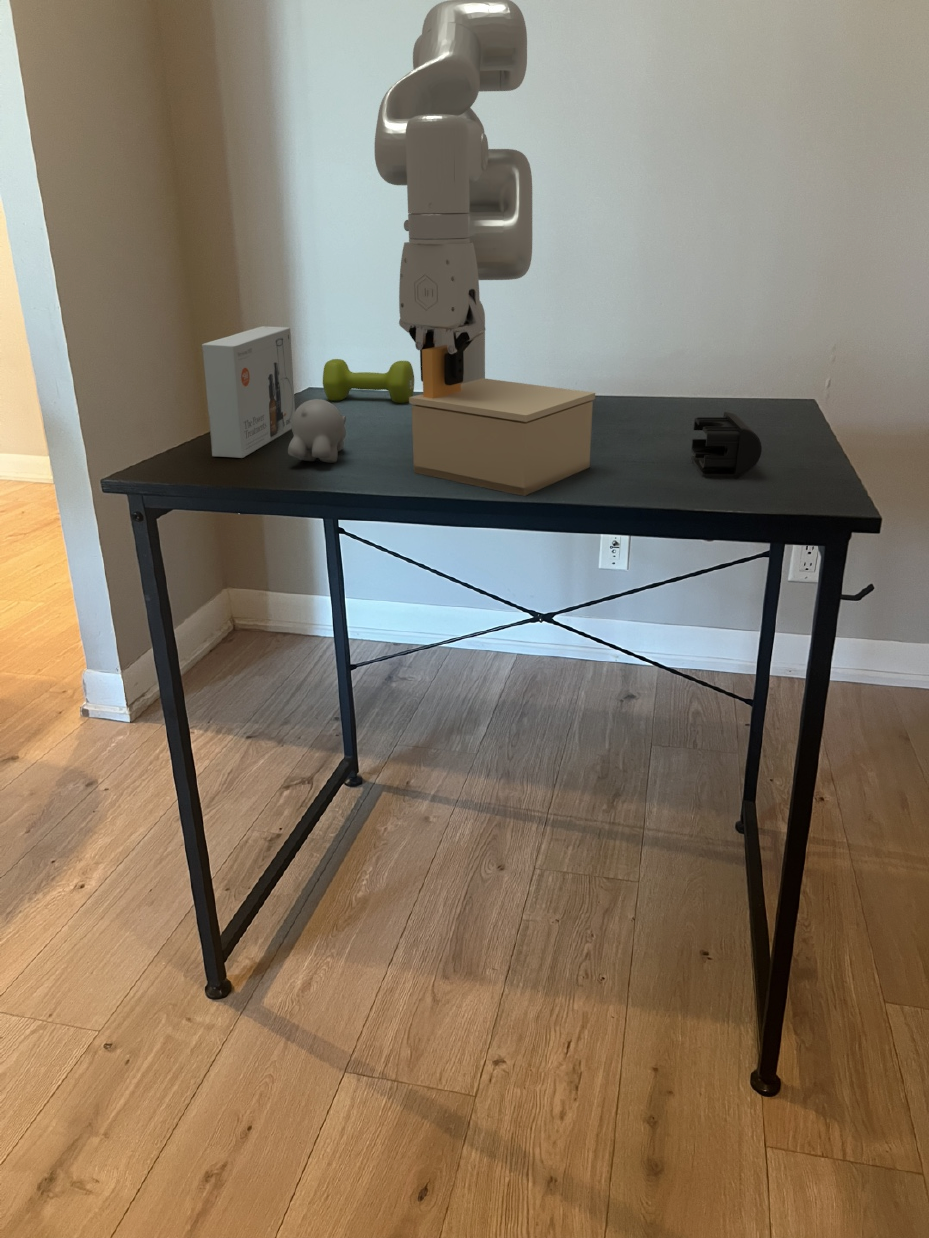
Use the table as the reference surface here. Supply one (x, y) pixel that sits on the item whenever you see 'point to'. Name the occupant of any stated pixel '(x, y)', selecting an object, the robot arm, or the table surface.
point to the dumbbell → (368, 380)
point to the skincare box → (249, 389)
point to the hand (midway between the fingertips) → (442, 380)
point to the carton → (501, 447)
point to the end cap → (725, 447)
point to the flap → (491, 394)
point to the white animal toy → (317, 431)
